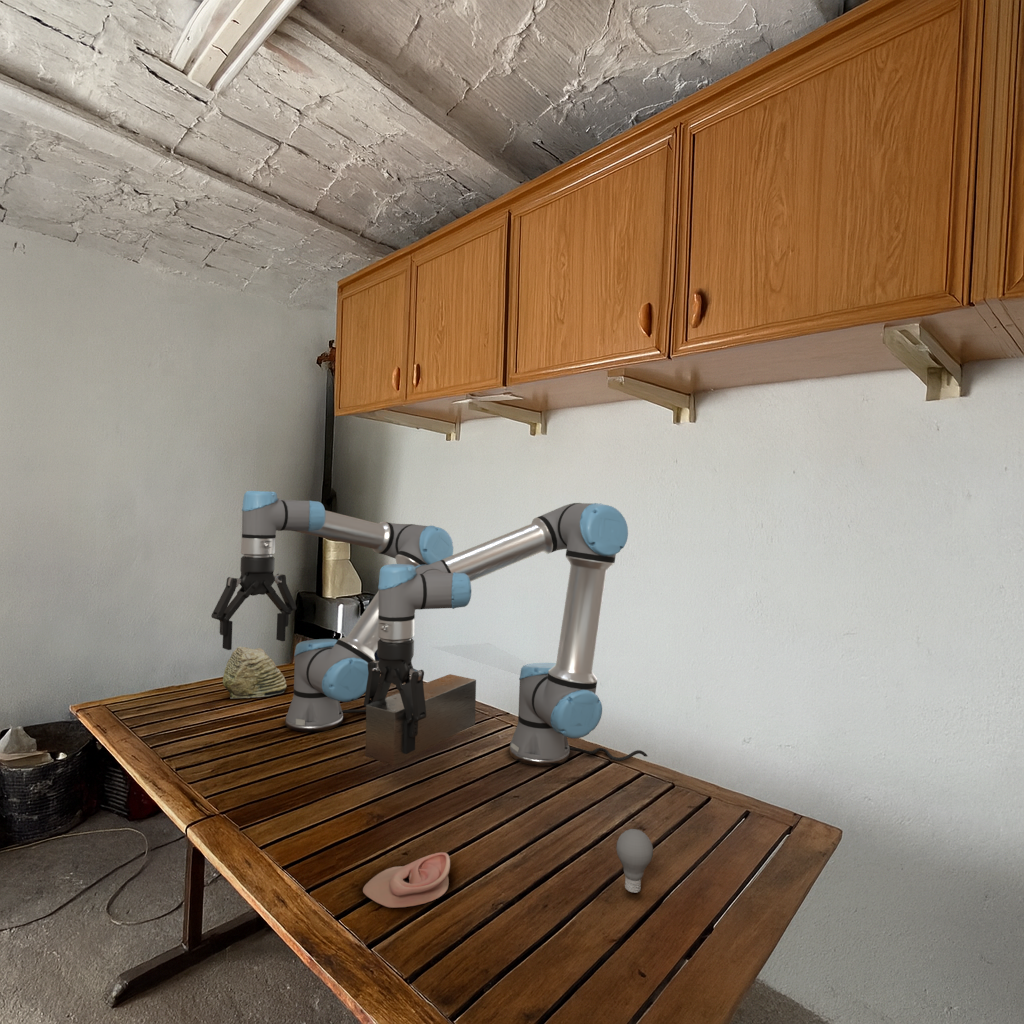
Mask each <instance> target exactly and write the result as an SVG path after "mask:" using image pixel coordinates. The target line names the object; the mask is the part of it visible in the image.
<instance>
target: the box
mask: <svg viewBox="0 0 1024 1024" xmlns="http://www.w3.org/2000/svg"><path fill="white" fill-rule="evenodd" d="M423 688H424V697H425V706H426V718H424V719H421V720H419V721H418V734H417V736H415V750H414V751H412V752H410V753H408V754H404V722H405V721H407V717H406V713H405V709H404V706H403V702H402V699H401V695H400V692H397V693H395V694H392V695H390V696H386V698H385V699H382V700H380V701H376V702H373V703H370V704H368V705H366V707H365V709H366V712H365V751H364V752H365V753H364V754H365V755H364V756H365V757H366V758H370V759H373V760H376V761H379V762H382V763H384V764H387V765H390V766H396V765H398V764H400V763H402V762H404V761H406V760H407V759H410V758H411V757H414V756H415V755H418V754H420V753H421V752H423V751H425V750H428V749H429V748H432V747H433V746H435V745H437V744H440V743H441V742H444V741H445V740H448V739H449V738H451V737H454V736H455V735H457V734H459V733H461V732H463V731H465V730H467V729H469V728H471V727H473V726H475V725H476V705H477V704H476V702H477V701H476V700H477V698H476V697H477V679H474V678H469V677H465V676H460V675H456V674H452V673H449V674H447V675H444V676H441V677H439V678H436V679H433V680H430V681H427V682H424V683H423ZM412 715H413V714H412Z"/></svg>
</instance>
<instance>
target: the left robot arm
mask: <svg viewBox="0 0 1024 1024" xmlns="http://www.w3.org/2000/svg"><path fill="white" fill-rule="evenodd" d="M241 514H242V515H241V516H242V517H241V518H242V519H241V520H242V521H241V526H242V527H241V542H240V543H241V545H240V554H241V555H243V556H241V557H240V577H239V578H238V577H231V576H228V577H227V578H226V582H225V587H224V589H223V591H222V593H221V595H220V597H219V599H218V601H217V603H216V605H215V607H214V609H213V611H212V613H211V618H212V619H215V620H218V621H219V635H221V636H222V649H224V650H226V651H231V650H232V647H233V621H232V620H231V619H232V617H233V616H234V615H235V613H236V612H237V611H238V609H240V607H241V605H242V604H243V603H244V602H245V600H246V599H248V598H249V597H250V596H252V597H253V596H258V595H261V596H263V595H266V596H267V598H269V599H270V601H271V602H272V603H273V604H274V605H275V607H276V608H277V609H278V610H279V613H277V614H276V640H277V641H280V642H286V633H287V632H286V628H287V627H289V621H290V615H291V614H292V612H293V611H296V610H297V605H296V602H295V600H294V597H293V595H292V593H291V591H290V589H289V586H288V584H287V576H286V574H283V573H277V574H274V572H275V564H276V562H275V561H276V558H275V556H273V555H275V554H276V538H277V532H282V531H290V532H296V533H301V534H305V535H310V536H315V537H319V538H323V539H327V540H333V541H338V542H341V543H345V544H350V545H354V546H359V547H363V548H368V549H372V551H373V552H374V553H376V554H380V555H383V556H386V557H389V558H392V559H395V564H409V565H413V566H414V567H416V566H418V565H425V564H426V565H429V564H432V563H434V562H437V561H440V560H442V559H445V558H447V557H450V556H452V555H454V545H453V543H454V542H453V539H452V537H451V535H450V533H449V532H448V531H446V529H444V528H441V527H439V526H435V525H422V524H415V523H396V522H395V523H394V522H393V523H392V522H387V521H383V520H382V521H380V522H375V521H370V520H365V519H362V518H358V517H354V516H350V515H345V514H342V513H338V512H334V511H330V510H326V509H325V506H324V504H323V503H322V502H320V501H317V500H316V501H315V500H297V499H281V498H278V493H277V492H276V491H263V490H247V491H246V492H244V494H243V499H242V507H241ZM274 583H275V584H276V586H277V588H278V591H279V593H280V595H281V597H280V595H278V594H277V592H276V590H275V588H274V587H273V584H274ZM239 585H240V588H239V589H238V591H237V592H236V590H237V588H238V587H239ZM235 592H236V595H234V594H235ZM233 596H234V598H233ZM378 605H379V590H378V591H377V592H376V594H375V595H374V596H373V598H372V600H370V602H369V604H368V606H367V607H366V608H365V610H364V611H363V613H362V614H361V615H360V617H359V618H358V620H357V621H356V623H355V625H354V626H353V627H352V628H351V630H350V631H349V633H348V635H347V636H344V637H340V638H338V639H336V638H319V639H308V640H303V641H300V642H297V644H296V645H295V650H294V655H293V656H294V672H293V695H292V696H293V697H292V699H291V702H290V704H289V708H288V711H287V713H286V715H285V726H286V728H287V729H289V730H291V731H294V732H295V731H296V732H301V733H316V732H325V731H329V730H332V729H335V728H337V727H339V726H340V725H342V723H343V722H344V714H357V713H358V714H362V713H363V714H364V713H366V708H365V709H342V706H341V703H350V702H353V701H357V700H358V699H359V698H361V697H362V696H364V695H365V693H366V686H367V679H368V663H369V662H372V661H376V657H375V655H376V654H375V653H377V646H378V641H379V639H380V638H379V637H378Z"/></svg>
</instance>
